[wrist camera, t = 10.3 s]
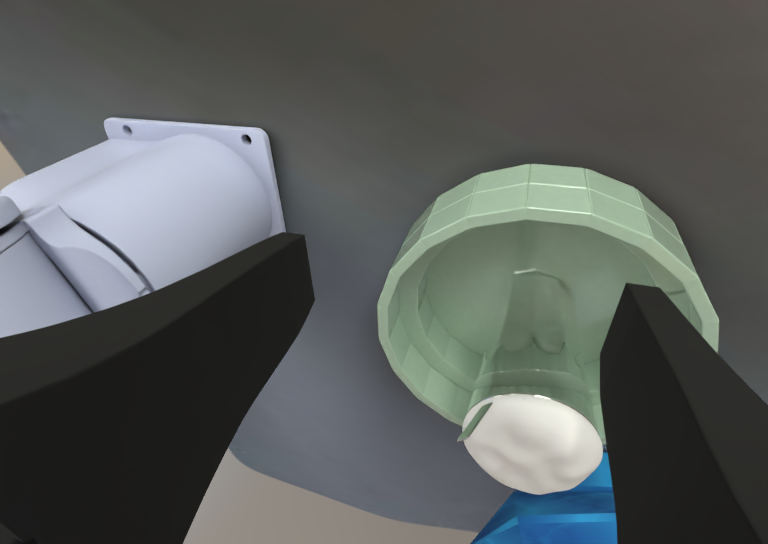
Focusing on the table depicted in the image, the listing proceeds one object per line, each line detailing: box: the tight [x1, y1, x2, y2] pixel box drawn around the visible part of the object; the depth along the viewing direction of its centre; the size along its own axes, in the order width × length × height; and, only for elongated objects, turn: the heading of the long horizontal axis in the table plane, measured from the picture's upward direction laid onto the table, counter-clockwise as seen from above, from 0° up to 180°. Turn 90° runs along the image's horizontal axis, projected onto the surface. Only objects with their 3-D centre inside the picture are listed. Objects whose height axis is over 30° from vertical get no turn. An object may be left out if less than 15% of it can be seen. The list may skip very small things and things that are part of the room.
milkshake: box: [457, 273, 603, 495], centre depth 17 cm, size 5×5×10 cm
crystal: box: [471, 452, 617, 544], centre depth 25 cm, size 7×9×12 cm
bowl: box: [377, 164, 719, 445], centre depth 20 cm, size 13×13×4 cm
